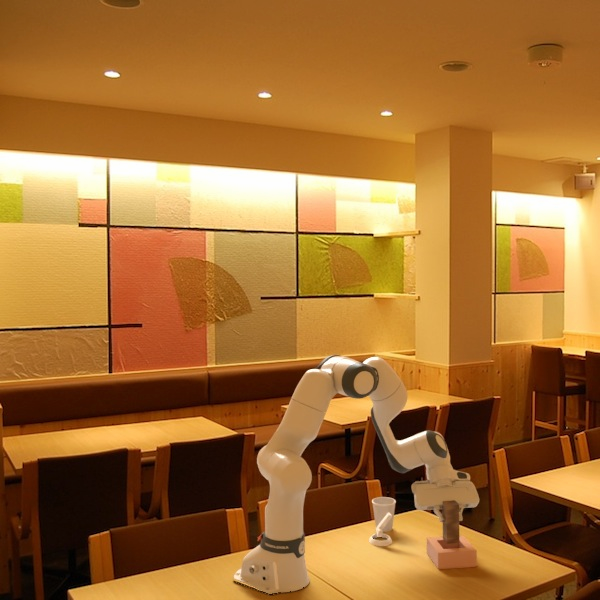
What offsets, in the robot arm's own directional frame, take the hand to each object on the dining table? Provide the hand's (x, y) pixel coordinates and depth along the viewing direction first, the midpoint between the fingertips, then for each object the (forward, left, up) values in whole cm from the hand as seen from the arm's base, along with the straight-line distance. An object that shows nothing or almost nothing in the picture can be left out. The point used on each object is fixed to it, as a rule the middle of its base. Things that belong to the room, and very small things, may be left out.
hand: (451, 520), depth 217 cm
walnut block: (0, +1, -7) cm, 7 cm away
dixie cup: (-28, +16, -13) cm, 35 cm away
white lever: (-25, +5, -13) cm, 29 cm away
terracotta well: (0, +1, -13) cm, 13 cm away
